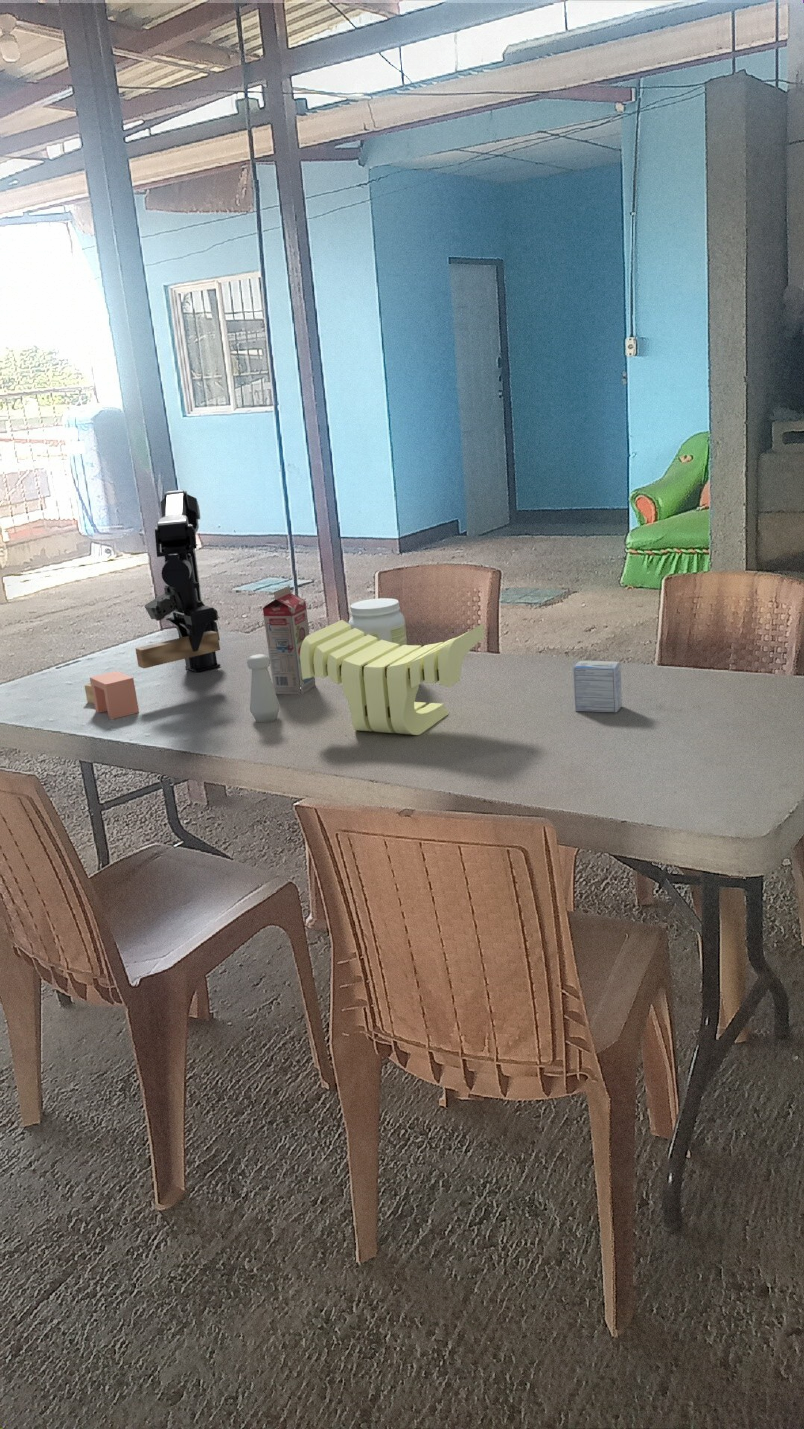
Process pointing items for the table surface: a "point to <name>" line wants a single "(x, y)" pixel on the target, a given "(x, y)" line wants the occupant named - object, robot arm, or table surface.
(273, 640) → the juice carton
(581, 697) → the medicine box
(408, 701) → the slatted curved stool
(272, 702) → the salt shaker
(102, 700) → the arch block
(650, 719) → the table surface
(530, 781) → the table surface
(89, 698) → the wooden cube
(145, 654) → the wooden plank
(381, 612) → the supplement tub
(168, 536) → the robot arm
